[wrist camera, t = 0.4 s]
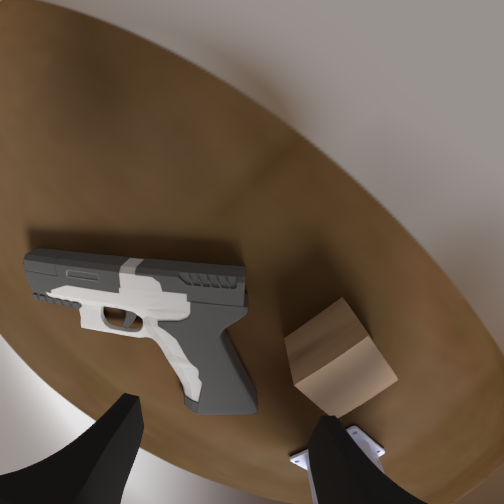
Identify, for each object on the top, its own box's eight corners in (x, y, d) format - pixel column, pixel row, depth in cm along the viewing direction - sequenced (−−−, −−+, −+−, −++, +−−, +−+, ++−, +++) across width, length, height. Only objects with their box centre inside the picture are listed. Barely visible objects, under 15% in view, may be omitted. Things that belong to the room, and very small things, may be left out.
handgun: (256, 420, 20) (277, 281, 16) (54, 382, 19) (20, 254, 15) (255, 398, 22) (273, 266, 18) (65, 367, 21) (39, 245, 18)
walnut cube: (372, 338, 20) (398, 379, 15) (319, 374, 21) (334, 420, 16) (341, 296, 19) (368, 335, 14) (283, 337, 20) (293, 385, 15)
